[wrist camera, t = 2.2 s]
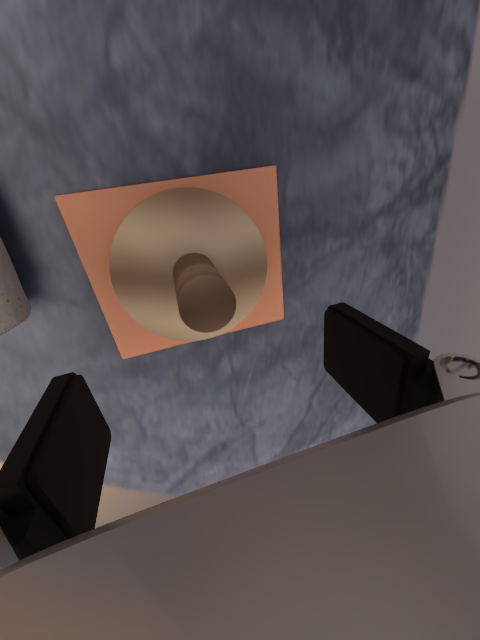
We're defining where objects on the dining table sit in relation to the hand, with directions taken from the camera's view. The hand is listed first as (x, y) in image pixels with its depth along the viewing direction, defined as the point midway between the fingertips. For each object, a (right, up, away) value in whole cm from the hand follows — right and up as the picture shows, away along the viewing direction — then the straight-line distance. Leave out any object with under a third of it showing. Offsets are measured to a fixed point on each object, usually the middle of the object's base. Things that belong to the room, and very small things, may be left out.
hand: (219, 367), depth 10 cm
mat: (-3, +6, +10) cm, 12 cm away
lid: (-3, +6, +9) cm, 11 cm away
